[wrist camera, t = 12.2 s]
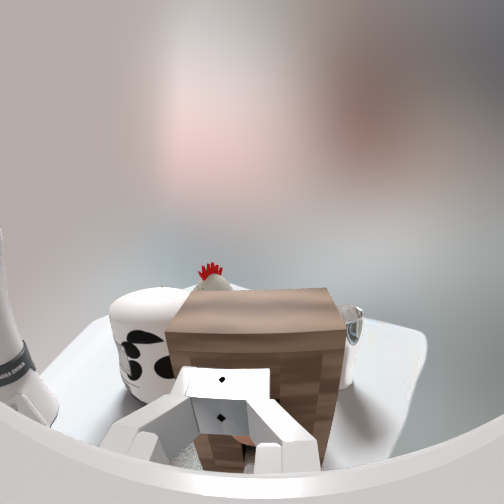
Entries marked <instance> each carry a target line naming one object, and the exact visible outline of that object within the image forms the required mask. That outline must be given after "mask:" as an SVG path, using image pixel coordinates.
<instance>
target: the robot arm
mask: <svg viewBox="0 0 504 504" xmlns="http://www.w3.org/2000/svg"><path fill="white" fill-rule="evenodd" d="M3 246H4V243H3V234H2V230H1V227H0V504H504V414H503V415H501V416H499V417H497V418H495V419H494V420H492V421H490V422H488V423H486V424H484V425H482V426H480V427H478V428H475V429H473V430H471V431H469V432H467V433H464V434H462V435H460V436H457V437H455V438H452V439H450V440H447V441H445V442H442V443H439V444H437V445H434V446H431V447H428V448H425V449H422V450H419V451H416V452H412V453H409V454H405V455H402V456H399V457H394V458H390V459H386V460H382V461H378V462H373V463H368V464H363V465H358V466H352V467H346V468H340V469H332V470H324V471H321V467H320V460H319V453H318V446H317V440H316V439H315V438H314V437H313V436H312V435H311V434H310V433H308V432H307V431H306V430H305V429H304V428H303V427H302V426H301V425H300V424H299V423H298V422H297V421H296V420H295V419H293V418H292V417H291V416H290V415H289V414H288V413H287V412H286V411H285V410H284V409H283V408H282V407H281V406H280V405H279V404H278V403H277V402H276V401H275V400H270V369H269V368H260V369H222V368H206V367H191V366H183V367H182V368H181V370H180V372H179V375H178V377H177V379H176V381H175V383H174V385H173V388H172V390H171V392H170V394H165V395H163V396H161V397H160V398H158V399H156V400H154V401H153V402H151V403H149V404H147V405H146V406H144V407H142V408H140V409H138V410H136V411H135V412H133V413H131V414H129V415H127V416H125V417H123V418H122V419H120V420H118V421H116V422H114V423H113V424H112V425H111V427H110V429H109V430H108V432H107V434H106V435H105V437H104V439H103V440H102V442H101V444H100V446H99V447H97V446H94V445H91V444H88V443H85V442H83V441H80V440H77V439H75V438H72V437H70V436H67V435H65V434H63V433H60V432H58V431H56V430H53V429H51V428H50V426H51V424H52V422H53V421H54V419H55V417H56V415H57V413H58V408H59V404H58V400H57V398H56V397H55V395H54V394H53V393H52V392H51V391H50V390H49V389H48V388H47V386H46V385H45V384H44V382H43V381H42V379H41V378H40V376H39V375H38V373H37V371H36V368H35V365H34V361H33V359H32V356H31V354H30V352H29V349H28V347H27V346H26V344H25V342H24V340H22V338H21V336H20V333H19V330H18V327H17V325H16V321H15V319H14V315H13V312H12V309H11V305H10V301H9V296H8V290H7V281H6V273H5V265H4V257H3ZM199 433H202V434H219V435H234V436H250V439H251V440H252V442H253V443H254V445H255V446H256V455H255V466H254V474H245V473H226V472H214V471H204V470H196V469H189V468H182V467H176V466H171V464H170V462H169V461H170V460H172V459H173V458H174V457H175V456H176V455H177V454H179V453H180V452H181V451H182V450H183V449H184V448H185V447H186V446H188V445H189V444H190V443H191V442H192V441H193V440H194V439H195V438H196V437H197V436H199Z"/></svg>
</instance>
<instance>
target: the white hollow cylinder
mask: <svg viewBox="0 0 504 504" xmlns="http://www.w3.org/2000/svg"><path fill="white" fill-rule="evenodd" d="M336 307H337V309H338V311H339V313H340V315H341V317H342V319H343V321H344V323H345V326H346V328H347V336H346V344H345V351H344V359H343V365H342V372H341V378H340V384H339V390H343V389H346V388H348V387H349V386H350V385H351V384H352V381H353V373H352V372H353V365H354V362H355V360H356V357H357V354H358V352H359V349H360V346H361V342H362V337H363V328H364V312H363V310H361V309H360V308H358V307H356V306H351V305H336Z"/></svg>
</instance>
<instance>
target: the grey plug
mask: <svg viewBox="0 0 504 504" xmlns="http://www.w3.org/2000/svg"><path fill="white" fill-rule="evenodd" d="M255 455H256V446H250V445H246V452H245V461H244V470H243V473H245V474H254V466H255Z"/></svg>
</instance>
